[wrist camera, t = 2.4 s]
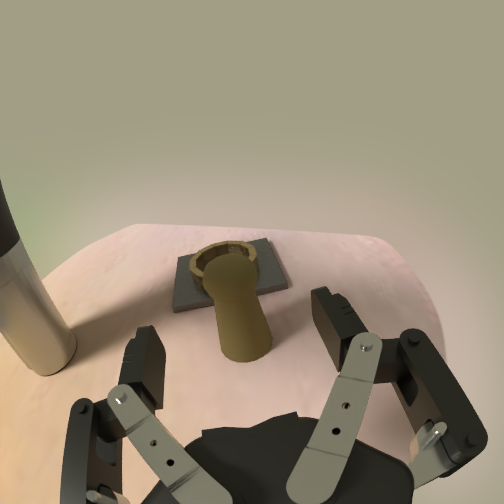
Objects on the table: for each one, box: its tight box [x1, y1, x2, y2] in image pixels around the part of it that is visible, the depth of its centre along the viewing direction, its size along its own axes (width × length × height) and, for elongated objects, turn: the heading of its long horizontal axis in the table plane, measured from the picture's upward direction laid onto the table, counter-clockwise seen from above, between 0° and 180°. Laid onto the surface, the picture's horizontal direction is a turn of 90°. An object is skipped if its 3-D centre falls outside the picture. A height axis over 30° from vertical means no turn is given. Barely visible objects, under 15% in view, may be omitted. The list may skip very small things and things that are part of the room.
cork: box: [203, 253, 273, 362], centre depth 29 cm, size 6×6×11 cm
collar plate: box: [172, 238, 288, 313], centre depth 44 cm, size 16×14×3 cm
